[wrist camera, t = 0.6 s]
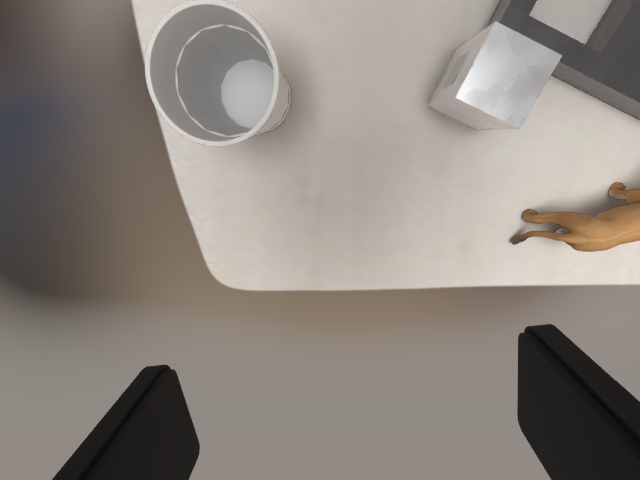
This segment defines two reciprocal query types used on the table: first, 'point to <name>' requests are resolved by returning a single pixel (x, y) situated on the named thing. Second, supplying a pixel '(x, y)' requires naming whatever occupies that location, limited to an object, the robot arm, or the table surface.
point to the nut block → (494, 79)
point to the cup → (215, 74)
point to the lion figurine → (592, 224)
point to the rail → (589, 51)
